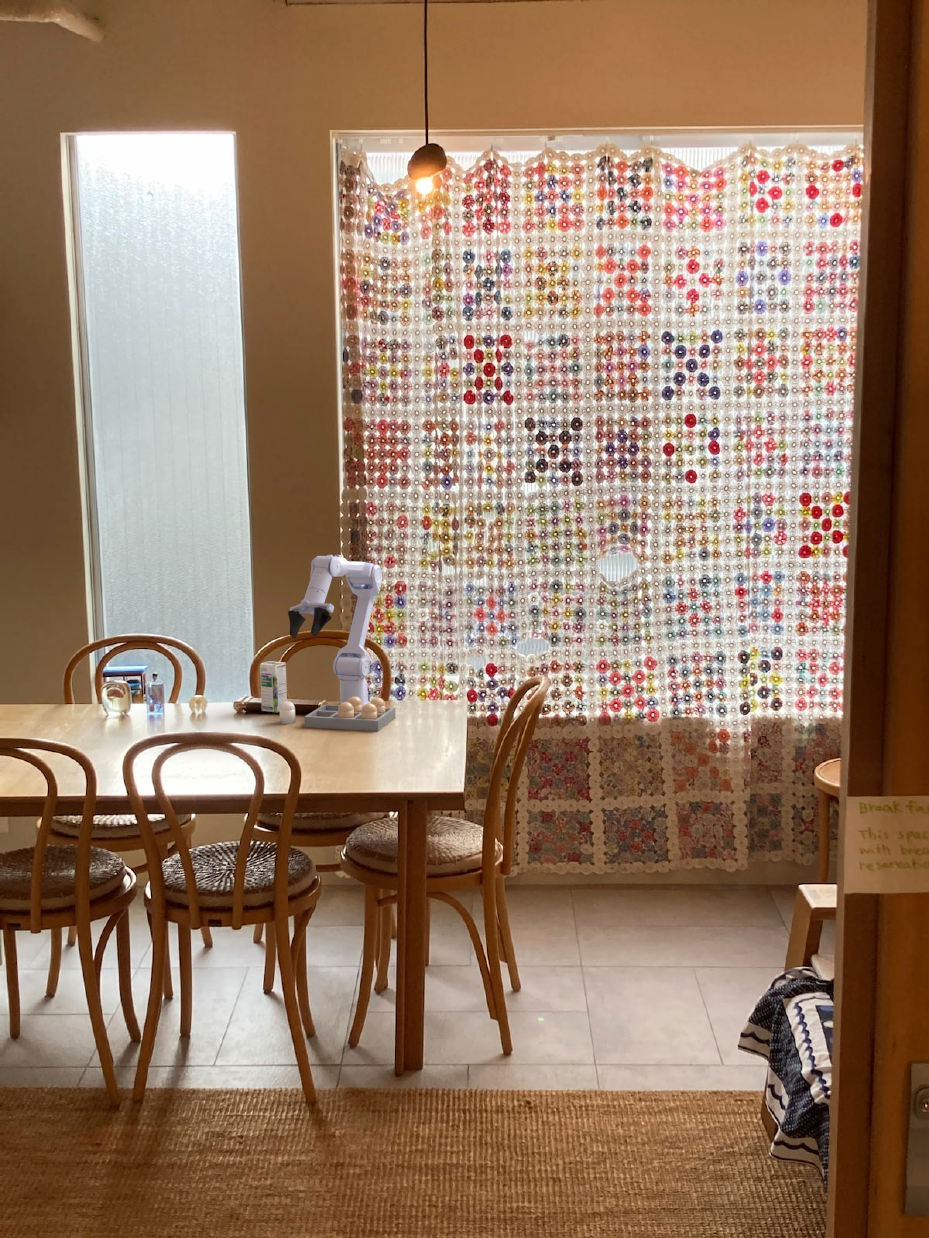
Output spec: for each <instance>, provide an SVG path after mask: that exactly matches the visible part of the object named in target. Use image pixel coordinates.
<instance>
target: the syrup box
mask: <svg viewBox="0 0 929 1238" xmlns="http://www.w3.org/2000/svg"><path fill="white" fill-rule="evenodd" d="M286 663H287V662H282V661H272V660H269V661H265V662H261V663H260V664H259V671H260V672H259V673H260V694H261V695H260V697H261V699H260V700H261V712H268V713H270V712H272V713H280V710H279V708H280V705H281V704H282V703H283V702H285V701H288V693H287V692H288V690H287V689H288V688H287V665H286Z"/></svg>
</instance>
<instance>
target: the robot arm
mask: <svg viewBox="0 0 929 1238" xmlns="http://www.w3.org/2000/svg"><path fill="white" fill-rule="evenodd" d="M310 566H311V567H310V573H309V574H310V575H309V577H310V580H309V582H308V585H307V589H306V592H305V595H304V598H303V599H301V601H300V603H298V604H297V605H294V606H291V607H290V608H289V610H288V611H287V615H288V619H289V636H290V637H291V638H292V639H296V638H297V636H298V634H299V632H300V629H301V627H302V625H303V624H304V623H305V621H306V620H307V619H306V618H305V617H304V616H303V615H313V620H312V625H311V629H310V634H311V635H312V636H313V637H318V635H319V634H320V632H321V631H322V630H323V627H324V626H325V625H326V624H327V623H329V621H330V620H332V616H331V614H333V613H334V610H335V606H334V605H333V604H332V603H325V601H326V598H327V595H328V592H329V589H330V585H331V583H332V580H333V577H334V578H336V577H344V576H345V579H346V582H347V583H348V586H349V588H350V590H351V593H352V594H354V595H356V596H357V599H356V600H357V601H356V605H355V608H354V612H353V613H354V614H353V617H352V622H351V626H350V631H349V635H348V639H347V644H346V645H345V646H343V647H341V648H340V649H339V650H338V651H337V655H336V657H335V658H334V660H333V666H332V669H333V673H334V674H335V676H337V679H338V680H339V690H340V691H339V695H340V704H341V703H343V702H347V701H348V699H349V698H351V697H353V696H356V697H359V698H360V699H361V701H362V706H364V705H365V704H367V703H370V702H371V701H369V694H368V693H369V690H368V689H369V688H368V682H367V679H366V678H367V676H368V675H369V673H370V668H371V667H370V663H371V656H370V654H369V652H368V651H367V650H366V649H365V648H364V647H365V643H366V638H367V636H368V630H369V625H370V620H371V616H372V611H373V607H374V603H375V599H376V596H378V595H379V594H380V590H381V586H382V583H383V572H382V568H381V567H380V565H379V564H374V563H370V562H365V561H348V560H347V559H346V558H345V557H342V555H341V554H335V555H334V556H333V554H327V555H317V556H316V557H314V558H313V559H311V563H310Z"/></svg>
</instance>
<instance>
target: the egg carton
mask: <svg viewBox="0 0 929 1238" xmlns="http://www.w3.org/2000/svg"><path fill="white" fill-rule="evenodd" d="M369 702H370V703H367V704H365V705H364V706H362V701H361V699H360V698H359V697H356V696H353V697H351V698H349V699H348V701H347V702H343V703H341V702H340V704H328V703H327V704H326V703H325V704H323V705H321V706H320V707H318V708H316V709H315V710H313V711H312V712H310V713H308V714H306V715H305V716H304V727H305V728H315V729H316V728H318V729H332V730H333V729H334V730H350V731H366V732H367V731H371V732H379V731H381V730H382V729H383V728H385V726H387V725H388V724H389V723H391V722H392V721H394V720H395V719H396V707H386V701H385V700H384V699H383V698H381V697H374V698H372V699H371V701H369Z"/></svg>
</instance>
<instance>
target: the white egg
mask: <svg viewBox="0 0 929 1238" xmlns="http://www.w3.org/2000/svg"><path fill="white" fill-rule="evenodd" d="M279 710H280V711H279V724H281V725H292V724H295V723H296V707H295V704H294V703H293V702H291V701H288V700H287V701H285V702H283V703H282V704H281V705H280V708H279Z"/></svg>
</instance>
